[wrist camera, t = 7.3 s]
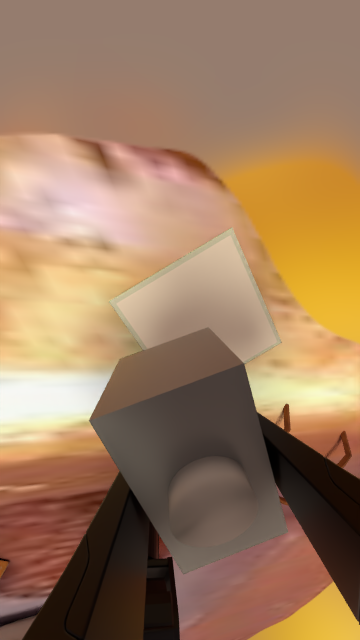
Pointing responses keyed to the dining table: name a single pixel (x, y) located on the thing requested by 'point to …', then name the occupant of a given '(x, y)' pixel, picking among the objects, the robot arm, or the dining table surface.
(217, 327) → the stand
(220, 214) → the dining table surface
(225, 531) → the block
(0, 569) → the small box
